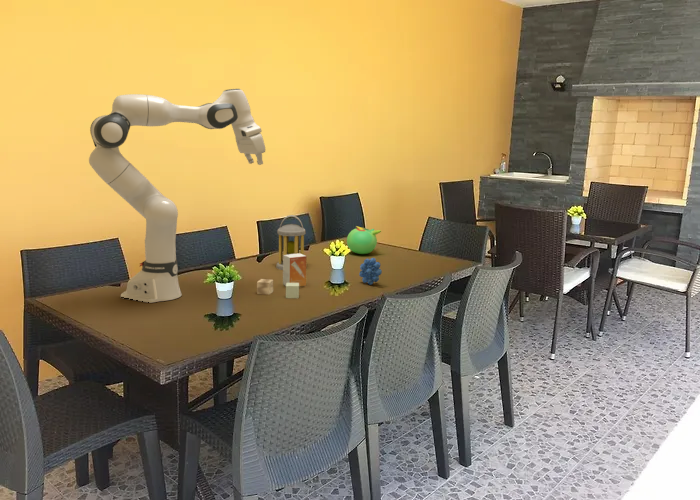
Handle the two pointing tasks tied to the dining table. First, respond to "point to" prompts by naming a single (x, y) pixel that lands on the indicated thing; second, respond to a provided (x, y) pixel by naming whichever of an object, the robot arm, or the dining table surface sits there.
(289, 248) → the lantern
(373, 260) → the grapes
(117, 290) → the dining table surface
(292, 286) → the sage cube
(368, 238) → the green round piece
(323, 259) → the dining table surface
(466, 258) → the dining table surface
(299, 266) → the small box
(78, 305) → the dining table surface
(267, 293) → the beech cube
